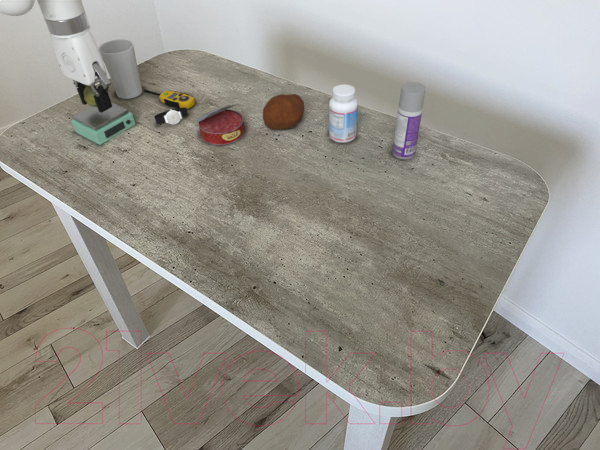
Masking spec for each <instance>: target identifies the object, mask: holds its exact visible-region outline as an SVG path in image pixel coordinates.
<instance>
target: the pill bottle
mask: <svg viewBox="0 0 600 450" xmlns="http://www.w3.org/2000/svg"><path fill="white" fill-rule="evenodd" d="M358 111H359V102H358V100H357V98H356V88H355V87H354V86H353V85H352V84H351V85H350V84H342V83H341V84H337V85H335V86H334V87H333V88H332V97H331V98H330V100H329V102H328V136H329V138H330V139H331V140H332V141H333V142H336V143H339V144H341V143H342V144H343V143H350V142H352V141H354V140H355V139H356V136H357V128H358V126H357V125H358V113H359V112H358Z"/></svg>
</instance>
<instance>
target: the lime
mask: <svg viewBox="0 0 600 450" xmlns="http://www.w3.org/2000/svg"><path fill="white" fill-rule="evenodd" d="M94 95H95V94H94V92H93V90H92V88H91V86H86V87H85V89H84V100H85V101H86V102H87V104H86V105H88V106H90V107H97V105H96V102H95V99H94V97H93V96H94Z"/></svg>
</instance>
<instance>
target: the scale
mask: <svg viewBox="0 0 600 450" xmlns="http://www.w3.org/2000/svg"><path fill="white" fill-rule="evenodd" d="M128 112H129V113H127V114H125V115H123V116H122V117H120V118H118V119H116V120H114V121H113V122H111V123H109V124H107V125H105V126H104V127H102V128H100V129H98V130H96V131H95V130H93V129H91V128H89V127H87V126H85V125H83V124H81V123H79V122H77V121H75V120H74V119H72V120H71V121H70V123H71V124H72V125H71V126H72V127H73V130H74V132H75V133H77V134H78V135H80V136H82V137H84V138H86V139H88V140H89V141H91V142H94V143H95V144H97V145H99V146H101V145H102V144H104V143H106V142H108V141H109V140H111V139H113V138H115V137H116V136H118V135H120V134H122V133H123V132H124V131H126V130H128V129H130V128H132V127H133V126H136V122H135V118H134V115H133V112H130V111H128Z"/></svg>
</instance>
